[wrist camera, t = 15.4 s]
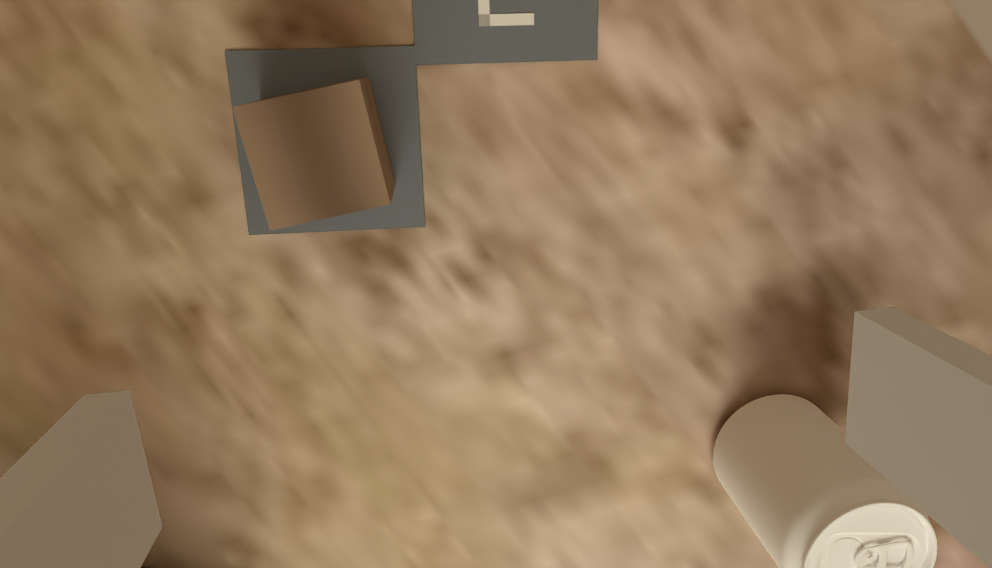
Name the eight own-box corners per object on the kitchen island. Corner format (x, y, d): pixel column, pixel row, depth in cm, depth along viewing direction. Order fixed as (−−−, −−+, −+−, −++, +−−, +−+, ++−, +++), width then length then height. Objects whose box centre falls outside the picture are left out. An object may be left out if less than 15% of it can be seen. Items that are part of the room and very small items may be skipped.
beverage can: (711, 394, 47) (802, 500, 36) (831, 385, 48) (957, 487, 37) (705, 501, 50) (788, 633, 38) (820, 491, 50) (934, 618, 39)
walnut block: (291, 206, 41) (270, 230, 36) (260, 99, 39) (231, 107, 34) (395, 183, 41) (390, 204, 36) (368, 76, 40) (358, 79, 34)
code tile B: (250, 233, 42) (248, 234, 42) (226, 50, 39) (224, 50, 39) (425, 225, 43) (425, 227, 42) (414, 45, 40) (414, 45, 39)
